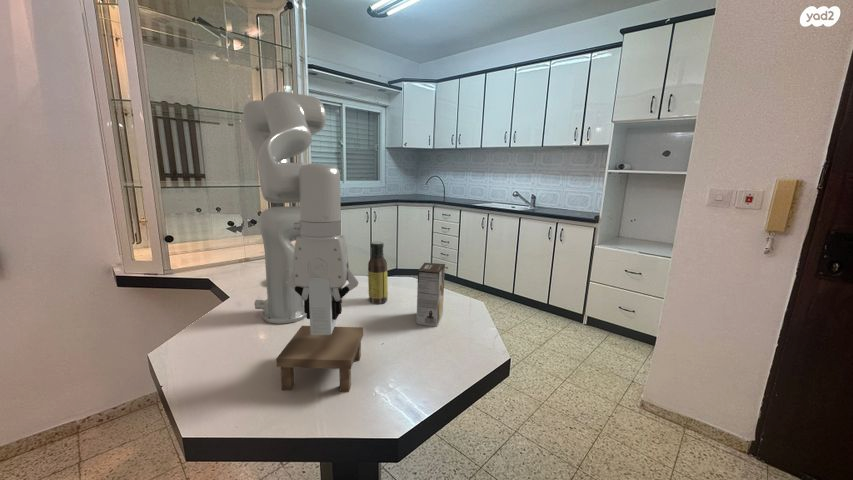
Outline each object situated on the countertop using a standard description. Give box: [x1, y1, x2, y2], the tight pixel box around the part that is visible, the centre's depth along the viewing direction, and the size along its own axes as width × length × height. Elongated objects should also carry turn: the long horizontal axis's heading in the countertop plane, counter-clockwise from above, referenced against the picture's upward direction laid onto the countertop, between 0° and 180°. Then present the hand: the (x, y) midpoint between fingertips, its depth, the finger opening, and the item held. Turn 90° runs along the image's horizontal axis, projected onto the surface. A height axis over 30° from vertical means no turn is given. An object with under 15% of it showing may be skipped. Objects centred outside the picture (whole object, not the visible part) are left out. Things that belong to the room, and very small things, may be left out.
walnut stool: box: [276, 325, 364, 393], centre depth 72 cm, size 14×14×7 cm
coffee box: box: [416, 262, 446, 327], centre depth 99 cm, size 9×6×16 cm
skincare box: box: [308, 278, 337, 335], centre depth 70 cm, size 6×4×12 cm
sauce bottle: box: [367, 240, 389, 305], centre depth 111 cm, size 6×6×20 cm
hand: (323, 315), depth 70 cm, fingers closed on skincare box, 4 cm apart
